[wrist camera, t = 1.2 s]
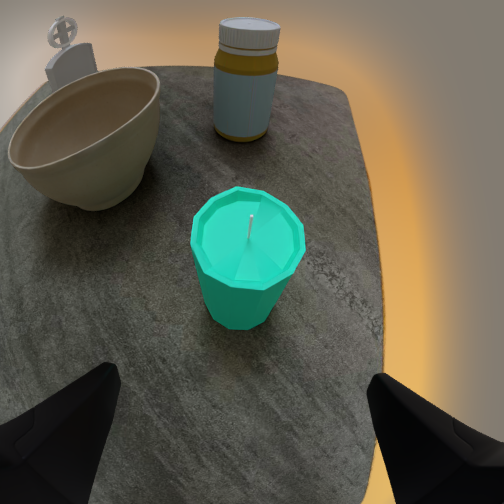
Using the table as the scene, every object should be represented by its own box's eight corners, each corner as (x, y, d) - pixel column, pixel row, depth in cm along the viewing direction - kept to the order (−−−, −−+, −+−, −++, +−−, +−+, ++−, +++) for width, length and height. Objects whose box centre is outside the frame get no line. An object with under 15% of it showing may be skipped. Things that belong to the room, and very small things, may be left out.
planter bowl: (195, 146, 31) (191, 68, 21) (126, 259, 24) (78, 184, 14) (99, 129, 32) (80, 68, 22) (30, 217, 25) (-14, 158, 15)
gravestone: (58, 108, 35) (33, 30, 19) (92, 82, 39) (76, 9, 23) (65, 109, 35) (40, 28, 19) (100, 82, 39) (84, 6, 23)
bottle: (275, 140, 33) (296, 32, 19) (222, 149, 31) (225, 32, 18) (256, 111, 35) (268, 16, 22) (208, 118, 34) (208, 18, 21)
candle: (198, 271, 24) (180, 178, 13) (264, 258, 25) (291, 163, 14) (212, 337, 21) (197, 290, 11) (282, 321, 22) (333, 261, 12)
